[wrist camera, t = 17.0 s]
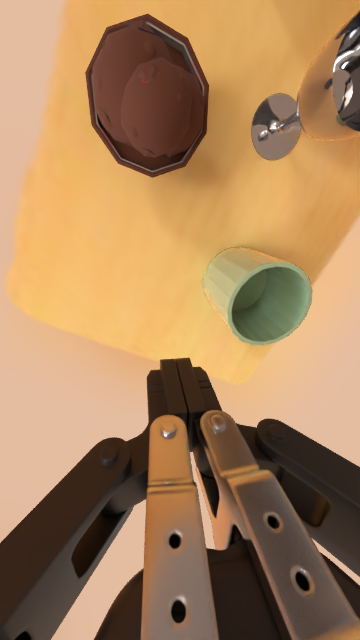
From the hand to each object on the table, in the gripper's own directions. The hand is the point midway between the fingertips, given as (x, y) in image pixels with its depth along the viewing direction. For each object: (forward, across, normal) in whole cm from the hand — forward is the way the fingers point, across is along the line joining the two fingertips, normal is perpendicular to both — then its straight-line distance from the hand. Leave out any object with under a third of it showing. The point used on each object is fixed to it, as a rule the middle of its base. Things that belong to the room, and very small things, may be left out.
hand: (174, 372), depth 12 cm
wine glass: (+27, +17, +18) cm, 37 cm away
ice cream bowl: (+27, 0, +16) cm, 32 cm away
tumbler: (+27, +14, -3) cm, 31 cm away
